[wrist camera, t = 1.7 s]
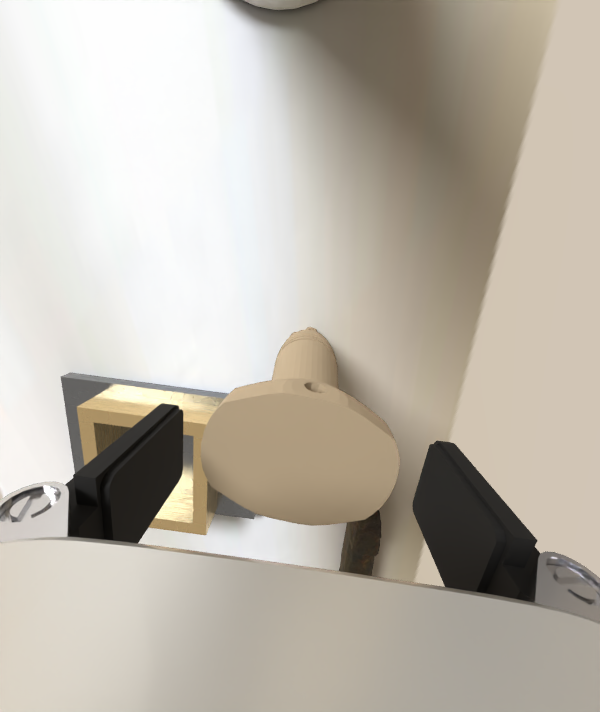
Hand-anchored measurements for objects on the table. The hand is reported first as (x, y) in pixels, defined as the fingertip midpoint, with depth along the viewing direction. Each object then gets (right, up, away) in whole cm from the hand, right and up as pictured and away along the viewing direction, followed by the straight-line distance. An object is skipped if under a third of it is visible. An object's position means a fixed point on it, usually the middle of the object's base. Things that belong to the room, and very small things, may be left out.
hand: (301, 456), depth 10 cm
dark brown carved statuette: (+5, -16, +20) cm, 26 cm away
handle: (+1, +5, +13) cm, 14 cm away
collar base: (-13, -5, +17) cm, 22 cm away
